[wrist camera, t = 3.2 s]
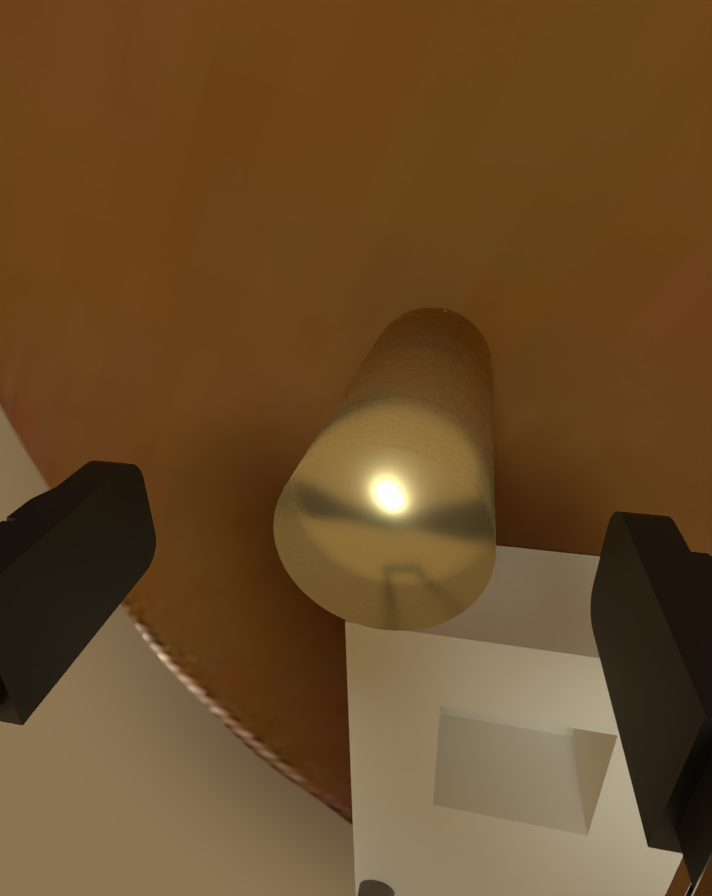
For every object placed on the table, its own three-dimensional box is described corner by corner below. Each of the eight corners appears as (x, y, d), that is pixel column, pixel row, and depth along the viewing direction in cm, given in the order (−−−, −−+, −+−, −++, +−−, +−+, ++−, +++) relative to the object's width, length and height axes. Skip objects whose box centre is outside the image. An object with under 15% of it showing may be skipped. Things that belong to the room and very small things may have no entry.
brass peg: (496, 309, 17) (507, 455, 8) (485, 425, 19) (485, 644, 10) (371, 306, 18) (262, 437, 9) (372, 417, 20) (282, 615, 11)
